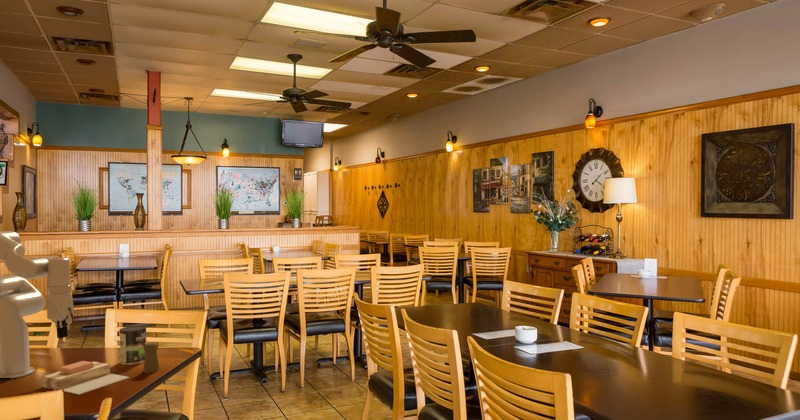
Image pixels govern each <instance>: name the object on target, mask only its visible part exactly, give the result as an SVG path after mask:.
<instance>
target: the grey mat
mask: <svg viewBox="0 0 800 420" xmlns="http://www.w3.org/2000/svg"><path fill="white" fill-rule="evenodd" d="M128 379H130V377H129V376H127V375H120V374H116V373H110V374H108V375H104V376H101V377H98V378H95V379H92V380H89V381H86V382H82V383H79V384H76V385H73V386H70V387H67V388H64V389H63V390H64V392H63V393H69V394H73V395H76V396H77V395H78V396H80V395H83V394H86V393H89V392H92V391H96V390H98V389H101V388H103V387H107V386H110V385H113V384H116V383H119V382H123V381H125V380H128Z"/></svg>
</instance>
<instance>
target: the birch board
mask: <svg viewBox="0 0 800 420" xmlns="http://www.w3.org/2000/svg"><path fill="white" fill-rule="evenodd" d="M92 362H93V368H91V369H87V370H84V371H81V372H77V373H74V374H65V373H60V371H59V370H58V371H55V372H52V373H49V374H45V375H42V376H41V378H42V379H41V381H42V382H41V383H42V388H45V389H50V390H55V391H57V390H56V389H64V388H67V387H70V386H73V385H76V384H79V383H82V382H86V381H89V380H92V379H95V378H98V377H101V376H104V375H108V374H111V364H110V363H106V362H105V363H104V362H99V361H95V360H94V361H92Z"/></svg>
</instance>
